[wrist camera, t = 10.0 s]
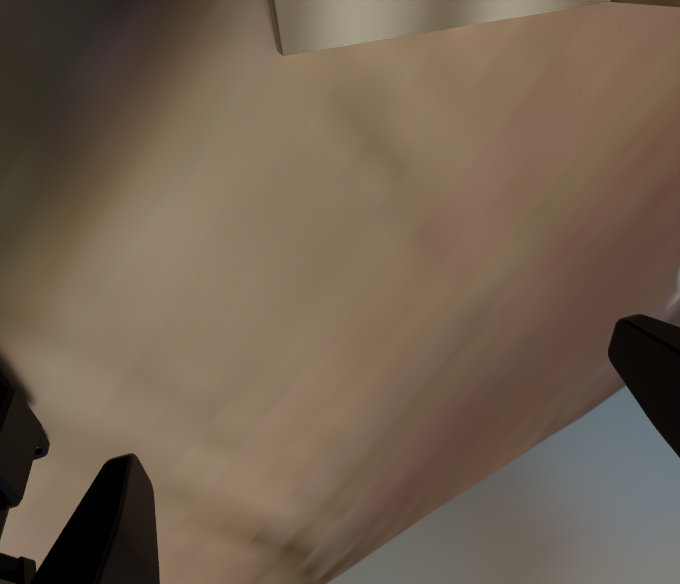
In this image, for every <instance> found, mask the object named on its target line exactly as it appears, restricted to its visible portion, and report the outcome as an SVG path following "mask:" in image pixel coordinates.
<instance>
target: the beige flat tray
mask: <svg viewBox="0 0 680 584" xmlns="http://www.w3.org/2000/svg"><path fill="white" fill-rule="evenodd" d="M606 2H619V3H632V4H646V5H659V6H672V7H680V0H270V6H271V12H272V18H273V25H274V31H275V37H276V43H277V49H278V52H279V53H280V54H281V55H283V56H286V55H292V54H298V53H304V52H310V51H316V50H322V49H328V48H334V47H340V46H346V45H352V44H358V43H364V42H370V41H376V40H382V39H388V38H394V37H401V36H407V35H413V34H419V33H425V32H431V31H437V30H443V29H449V28H455V27H461V26H467V25H473V24H479V23H485V22H491V21H497V20H503V19H510V18H516V17H522V16H528V15H534V14H540V13H546V12H552V11H558V10H564V9H570V8H576V7H582V6H588V5H594V4H600V3H606Z"/></svg>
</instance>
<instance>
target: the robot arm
mask: <svg viewBox="0 0 680 584" xmlns="http://www.w3.org/2000/svg"><path fill="white" fill-rule="evenodd" d="M608 356H609V359H610V362H611V363H612V365H613V366H614V368H615V369H616V371H617V372H618V374H619V375H620V377H621V378H622V380H623V381H624V383H625V384H626V386H627V387H628V389H629V390H630V391H631V393H632V394H633V396H634V397H635V399H636V400H637V401H638V403H639V405H640V406H641V408H642V409H643V411H644V412H645V414H646V415H647V417H648V418H649V419H650V421H651V422H652V424H653V425H654V426H655V428H656V429H657V430H658V432H659V433H660V434H661V435H662V437H663V438H664V439H665V441H666V442H667V443H668V444H669V445H670V447H672V449H673V450H674V451H675V453H676V454H677V455H678V456H679V457H680V327H678V326H675V325H672V324H669V323H666V322H663V321H660V320H657V319H654V318H651V317H648V316H645V315H642V314H636V315H632V316H628V317H624V318H621V319H619V320H618V321H617V322H616V325H615V328H614V331H613V334H612V338H611V341H610V344H609V348H608ZM41 429H42V425H41V424H40V422H39V421H38V419H37V418H36V416H35V415H34V413H33V412H32V411H31V409H30V408H29V406H28V405H27V403H26V402H25V400H24V399H23V397H22V396H21V395H20V393H19V392H18V390H17V389H15V388H14V387H12V386H10V384H9V383H8V381H7V380H6V378H5V377H4V375H3V374H2V373H1V371H0V539H1V536H2V532H3V529H4V525H5V522H6V518H7V515H8V512H9V509H10V508H13V507H16V506H18V505H19V504H20V502H21V500H22V499H23V495H24V492H25V488H26V484H27V481H28V477H29V473H30V470H31V466H32V462H33V460H35V459H39V458H42V457H44V456H45V455H47V453H48V450H49V446H50V443H49V441H48V439H47V438H46V436H45V435H44V433H43V432H42V430H41ZM36 447H38V448H36ZM0 584H160V578H159V561H158V546H157V532H156V517H155V502H154V492H153V487H152V484H151V481H150V479H149V477H148V475H147V474H146V472H145V470H144V468H143V466H142V464H141V463H140V461H139V459H138V457H137V456H136V455H135V454H133V453H131V454H130V453H129V454H126V455H122V456H118V457H115V458H111V459H109V460H108V461H107V462H106V463H105V464H104V465H103V467H102V468H101V470H100V472H99V473H98V475H97V476H96V478H95V480H94V481H93V483H92V484H91V486H90V488H89V489H88V491H87V492H86V494H85V496H84V497H83V499H82V500H81V502H80V504H79V505H78V507H77V508H76V510H75V512H74V513H73V515H72V516H71V518H70V520H69V521H68V523H67V524H66V526H65V527H64V529H63V531H62V532H61V534H60V535H59V537H58V539H57V540H56V542H55V543H54V545H53V547H52V548H51V550H50V551H49V553H48V555H47V556H46V558H45V559H44V561H43V563H42V564H41V566H40V567H39V569H38V571H37V572H36V562H35V561H34V560H31V559H28V558H25V557H22V556H21V557H19V558H16V557H13V556H9V555H6V554H3V553H0Z"/></svg>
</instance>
